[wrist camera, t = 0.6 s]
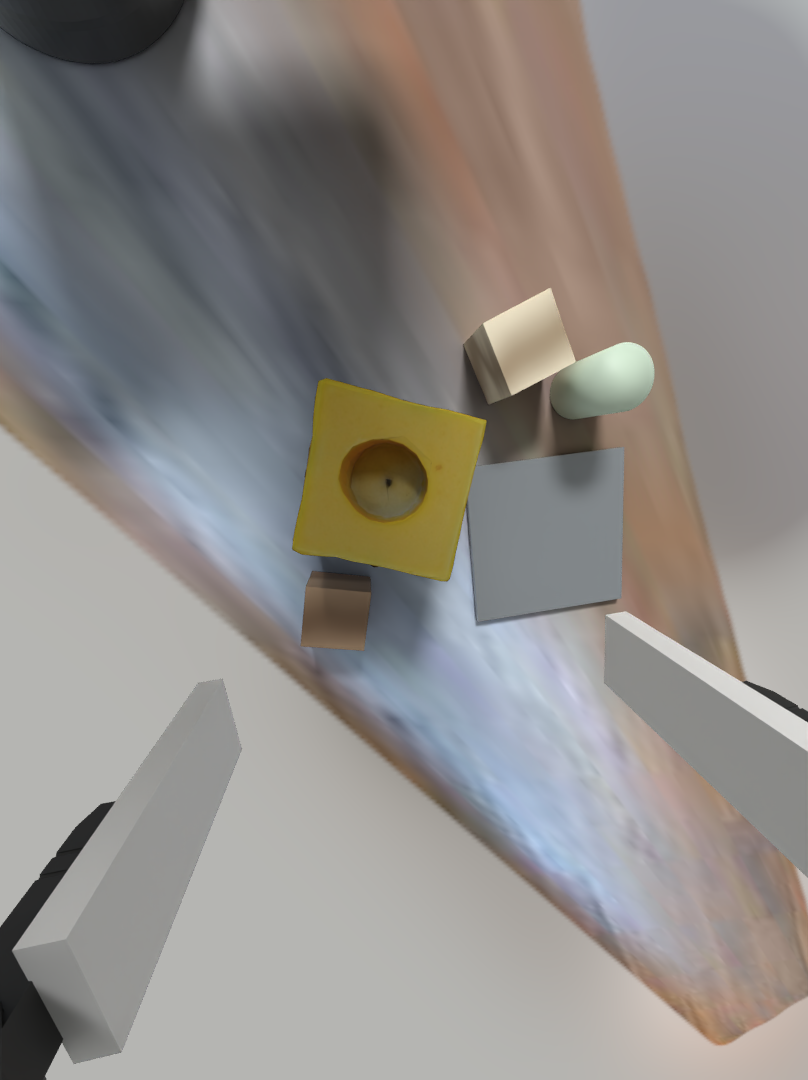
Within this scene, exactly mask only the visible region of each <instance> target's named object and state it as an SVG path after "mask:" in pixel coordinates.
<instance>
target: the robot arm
mask: <svg viewBox="0 0 808 1080" xmlns="http://www.w3.org/2000/svg"><path fill="white" fill-rule="evenodd" d="M183 2H184V0H0V27H1V28H2V29H3V30H5V31H6V32H7V33H9V34H10V35H12V36H13V37H15V38H16V39H18V40H19V41H21V42H23V43H25V44H26V45H28V46H30V47H32V48H34V49H36V50H38V51H41V52H43V53H45V54H48V55H51V56H54V57H57V58H60V59H64V60H68V61H73V62H80V63H107V62H112V61H117V60H121V59H124V58H127V57H130V56H132V55H134V54H136V53H138V52H140V51H142V50H144V49H145V48H147V47H148V46H150V45H151V44H152V43H153V42H155V41H156V40H157V39H158V38H159V37H160V36H161V35H162V34H163V33H164V32H165V31H166V29H167V28H168V27H169V26H170V24H171V23H172V22H173V20H174V19H175V17H176V15H177V14H178V12H179V10H180V8H181V6H182V4H183ZM604 683H605V684H606V685H607V686H608V687H609V688H610V689H611V690H612V691H613V692H614V693H615V694H616V695H617V696H618V697H620V698H621V699H622V700H623V701H624V702H625V703H626V704H627V705H628V706H629V707H630V708H631V709H632V710H633V711H634V712H635V713H636V714H637V715H638V716H639V717H640V718H641V719H643V720H644V721H645V722H646V723H647V724H648V725H649V726H650V727H651V728H652V729H653V730H654V731H655V732H656V733H657V734H658V735H659V736H660V737H661V738H662V739H663V740H664V741H665V742H667V743H668V744H669V745H670V746H671V747H672V748H673V749H674V750H675V751H676V752H677V753H678V754H679V755H680V756H681V757H682V758H683V759H684V760H685V761H686V762H687V763H688V764H690V765H691V766H692V767H693V768H694V769H695V770H696V771H697V772H698V773H699V774H700V775H701V776H702V777H703V778H704V779H705V780H706V781H707V782H708V783H709V784H710V785H711V786H712V787H714V788H715V789H716V790H717V791H718V792H719V793H720V794H721V795H722V796H723V797H724V798H725V799H726V800H727V801H728V802H729V803H730V804H731V805H732V806H733V807H734V808H735V809H736V810H738V811H739V812H740V813H741V814H742V815H743V816H744V817H745V818H746V819H747V820H748V821H749V822H750V823H751V824H752V825H753V826H754V827H755V828H756V829H757V830H758V831H759V832H761V833H762V834H763V835H764V836H765V837H766V838H767V839H768V840H769V841H770V842H771V843H772V844H773V845H774V846H775V847H776V848H777V849H778V850H779V851H780V852H781V853H782V854H783V855H785V856H786V857H787V858H788V859H789V860H790V861H791V862H792V863H793V864H794V865H795V866H796V867H797V868H798V869H799V870H800V871H801V872H802V873H803V874H805V876H806V877H808V711H806V710H804V709H803V708H802V709H799V708H798V705H796V704H794V703H792V702H791V701H789V700H787V699H785V698H784V697H782V696H780V695H779V694H777V693H775V692H773V691H771V690H768V689H766V688H763V687H760V686H758V685H755V684H753V683H750V682H748V681H744V682H741V681H739V680H737V679H736V678H734V677H732V676H731V675H729V674H727V673H726V672H724V671H723V670H721V669H719V668H718V667H716V666H714V665H713V664H711V663H709V662H708V661H706V660H705V659H703V658H701V657H700V656H698V655H696V654H695V653H693V652H691V651H690V650H688V649H687V648H685V647H683V646H682V645H680V644H678V643H677V642H675V641H673V640H672V639H670V638H669V637H667V636H665V635H664V634H662V633H660V632H659V631H657V630H655V629H654V628H652V627H650V626H649V625H647V624H646V623H644V622H642V621H641V620H639V619H637V618H636V617H634V616H632V615H631V614H629V613H628V612H620V613H614V614H608V615H605V671H604ZM241 750H242V748H241V744H240V741H239V737H238V733H237V730H236V726H235V722H234V719H233V715H232V712H231V708H230V704H229V700H228V697H227V693H226V689H225V686H224V682H223V679H219V680H213V681H207V682H201V683H198V684H197V685H196V687H195V688H194V690H193V691H192V693H191V694H190V696H189V697H188V698H187V700H186V701H185V703H184V704H183V706H182V707H181V708H180V710H179V711H178V713H177V714H176V716H175V717H174V719H173V720H172V721H171V723H170V724H169V726H168V727H167V729H166V730H165V732H164V733H163V735H162V736H161V737H160V739H159V740H158V741H157V743H156V744H155V746H154V747H153V749H152V750H151V752H150V753H149V755H148V756H147V757H146V759H145V760H144V762H143V763H142V764H141V766H140V767H139V769H138V770H137V772H136V773H135V775H134V776H133V777H132V779H131V781H130V782H129V783H128V785H127V786H126V787H125V789H124V790H123V792H122V793H121V795H120V796H119V798H118V799H117V801H114V802H109V803H104V804H100V805H99V806H98V807H97V808H96V809H95V810H94V811H93V812H92V813H91V814H90V815H88V816H87V817H86V818H85V819H84V820H83V821H82V822H81V823H80V824H79V825H78V826H77V827H75V829H74V830H73V831H72V833H71V834H70V835H69V837H68V838H67V840H66V841H65V842H64V843H63V845H62V846H61V848H60V849H59V850H58V851H57V854H56V857H54V858H52V859H51V861H50V862H49V863H48V865H47V866H46V867H45V869H44V870H43V871H42V873H41V874H40V878H39V880H36V881H35V882H34V883H33V884H32V886H31V887H30V888H29V890H28V891H27V892H26V894H25V895H24V896H23V898H22V899H21V900H20V902H19V903H18V904H17V906H16V907H15V908H14V910H13V911H12V912H11V914H10V915H9V916H8V918H7V919H6V920H5V922H4V923H3V924H2V925H1V927H0V1080H46V1077H45V1075H46V1073H47V1070H48V1069H49V1067H50V1065H51V1063H52V1061H53V1059H54V1057H55V1055H56V1053H57V1051H58V1049H59V1047H60V1045H61V1043H63V1045H64V1047H65V1049H66V1051H67V1052H68V1054H69V1056H70V1058H71V1060H72V1061H73V1063H74V1064H76V1063H80V1062H84V1061H88V1060H92V1059H96V1058H100V1057H104V1056H109V1055H113V1054H117V1053H121V1052H122V1050H123V1047H124V1045H125V1042H126V1040H127V1037H128V1035H129V1032H130V1030H131V1027H132V1025H133V1022H134V1019H135V1017H136V1015H137V1012H138V1009H139V1007H140V1005H141V1002H142V1000H143V997H144V994H145V992H146V989H147V987H148V984H149V982H150V979H151V977H152V974H153V972H154V969H155V967H156V964H157V962H158V959H159V957H160V954H161V952H162V949H163V946H164V944H165V942H166V939H167V936H168V934H169V931H170V929H171V926H172V924H173V921H174V919H175V916H176V914H177V911H178V909H179V906H180V904H181V901H182V898H183V896H184V894H185V891H186V888H187V886H188V884H189V881H190V878H191V876H192V873H193V871H194V868H195V866H196V863H197V861H198V858H199V856H200V853H201V851H202V848H203V846H204V843H205V841H206V838H207V835H208V832H209V830H210V828H211V826H212V823H213V820H214V818H215V815H216V813H217V810H218V808H219V805H220V803H221V800H222V798H223V795H224V793H225V790H226V788H227V785H228V783H229V780H230V778H231V775H232V773H233V770H234V768H235V765H236V762H237V760H238V757H239V755H240V752H241Z"/></svg>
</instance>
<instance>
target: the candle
mask: <svg viewBox="0 0 808 1080" xmlns="http://www.w3.org/2000/svg"><path fill="white" fill-rule="evenodd" d="M486 422H487V420H483V419H480V418H476V417H473V416H469V415H465V414H462V413H458V412H454V411H450V410H446V409H440V408H434V407H429V406H425V405H420V404H416V403H412V402H409V401H406V400H401V399H398V398H394V397H391V396H388V395H385V394H382V393H379V392H376V391H373V390H368V389H364V388H360V387H357V386H353V385H350V384H346V383H343V382H339V381H335V380H331V379H327V378H326V379H323V380H320V381H319V382H318V387H317V392H316V397H315V405H314V416H313V436H312V440H311V444H310V447H309V456H308V462H307V469H306V472H305V482H304V488H303V495H302V501H301V505H300V509H299V513H298V517H297V522H296V527H295V532H294V537H293V546H292V549H293V550H294V551H296V552H298V553H300V554H303V555H313V556H326V557H338V558H341V559H345V560H349V561H353V562H359V563H365V564H370V565H371V566H373V567H378V566H379V567H384V568H389V569H393V570H397V571H401V572H405V573H409V574H412V575H416V576H421V577H426V578H430V579H434V580H439V581H448V580H449V579H450V576H451V572H452V568H453V564H454V558H455V553H456V549H457V545H458V540H459V536H460V531H461V526H462V521H463V516H464V512H465V508H466V504H467V499H468V495H469V491H470V487H471V483H472V479H473V475H474V471H475V467H476V462H477V458H478V454H479V451H480V448H481V445H482V441H483V438H484V432H485V427H486Z"/></svg>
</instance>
